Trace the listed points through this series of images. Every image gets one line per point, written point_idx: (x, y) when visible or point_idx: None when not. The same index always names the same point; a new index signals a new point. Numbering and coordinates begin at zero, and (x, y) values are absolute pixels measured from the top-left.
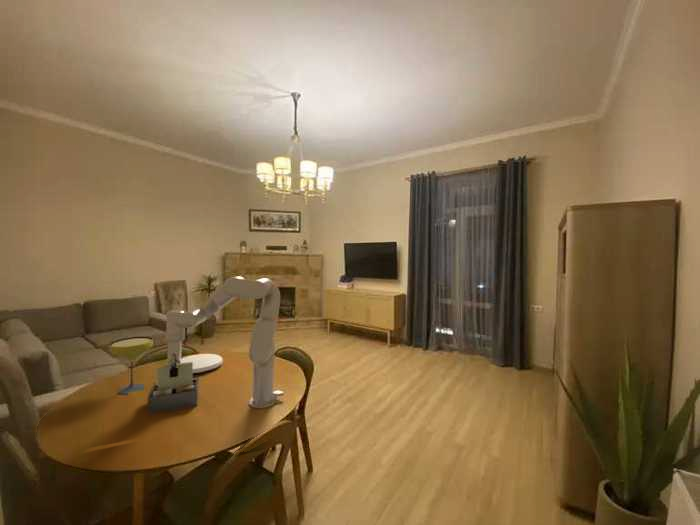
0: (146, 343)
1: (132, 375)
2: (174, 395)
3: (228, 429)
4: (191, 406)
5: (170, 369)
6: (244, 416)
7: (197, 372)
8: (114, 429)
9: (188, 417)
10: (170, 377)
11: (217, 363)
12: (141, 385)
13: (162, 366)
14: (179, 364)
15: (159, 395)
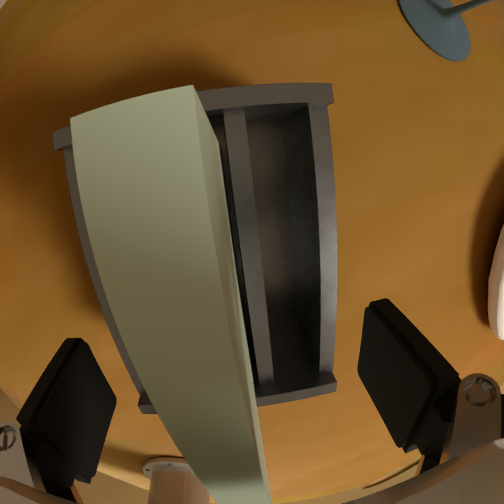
0: None
1: (479, 3)
2: (100, 298)
3: None
4: None
5: (27, 418)
6: (106, 441)
7: (490, 274)
8: (59, 53)
9: (88, 322)
10: (73, 342)
11: (499, 337)
12: (459, 50)
13: (107, 275)
14: (216, 496)
15: None
